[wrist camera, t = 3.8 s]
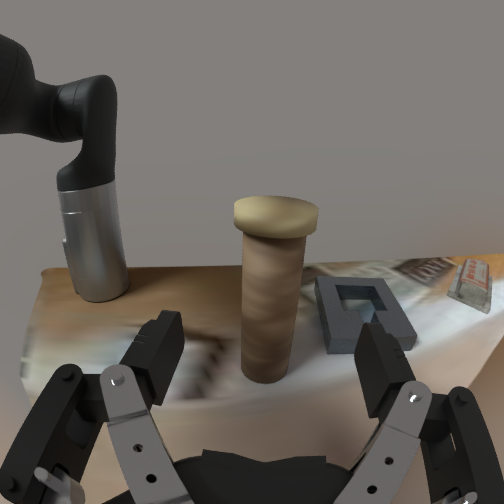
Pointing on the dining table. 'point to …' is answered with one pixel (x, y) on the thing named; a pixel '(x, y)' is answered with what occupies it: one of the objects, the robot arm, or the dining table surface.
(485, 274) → the packaged product
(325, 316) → the keyhole plate
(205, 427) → the dining table surface
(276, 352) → the walnut peg
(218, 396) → the dining table surface
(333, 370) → the dining table surface
